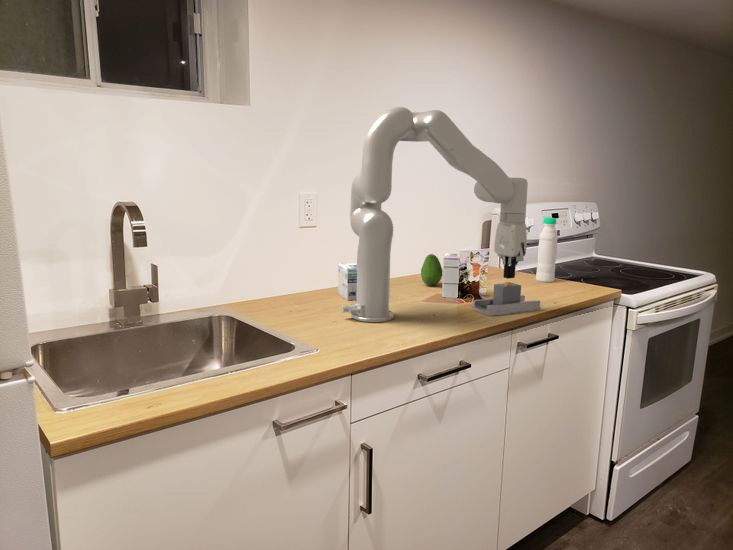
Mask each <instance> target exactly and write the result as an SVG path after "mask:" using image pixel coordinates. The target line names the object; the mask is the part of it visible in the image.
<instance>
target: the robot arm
mask: <svg viewBox="0 0 733 550" xmlns="http://www.w3.org/2000/svg"><path fill="white" fill-rule="evenodd" d="M399 142H420V143H421V142H429V143H430V144H431V145H432V147H433V148H434V149H435V150H436V151H437V152H438V153H439V154H440V155H441V156H442V158H443V159H444V161H446V162H447V164H448V165H450V167H452V168H454V169H455V170H456V171H459V172H462V173H464V174H466V175H467V176H469V177H471V178H472V179H474V180H475V181H476V182H475V184H474V187H473V191H474V192H473V193H474V195H475V196H476V198H477V199H478V200H480V201H481V202H485V203H492V204H493V203H495V204H500V213H499V221H498V224H497V226H496V227H497V228H496V231H495V238H494V244H493V245H494V248H493V251H494V252H495V254H497V257H498V258H500V259H501V260H502V265H503V276H502V277H503V278H504V279H507V280H508V279H514V278H515V277H516V266H517V265H518V263H519V262H524V257H525V256H526V253H527V243H528V237H527V236H528V235H527V224H526V218H527V215H526V214H527V201H528V200H527V199H528V180H527V179H526V178H524V177H509V176H508V175H507V174H506V172H505V171H504V170H503V168H501V166H499V165H498V163H496V162H495V161H494V160H493V159H492V158H491V157H489V156H488V155H487V154H486V153H484V152H483V151H482V150H480V149H479V148H477V147H476V146H475V145H474V144H473V143H472V142H471V141H470V140H469V139H468V138H467V137H466V135H465V134H464V133H463V132H462V131H461V130H460V128H458V126H457V125H456V124H455V123H454V122H453V121H452V119H451V117H449V116H448V115H447V113H445V112H444V111H442V110H439V109H434V110H433V109H432V110H427V111H424V112H423V111H421V112H420V111H419V112H416V111H415V112H412V111H411V110H410V109H408V108H406V107H404V106H396V107H392V108H389V109H386V110H384V111H382V112H380V113H379V114H378V115H377V116H376V118H375V121H374V123H373V124H372V126H371V127H370V128H369V130H368V131H367V134H366V136H365V139H364V143H363V148H362V157H361V171H359V172H358V173H357V174H356V175H355V176H354V178H353V179H352V183H351V188H350V215H349V217H350V227H351V230H352V232H353V233H354V234H355V235H356V236H357V237H358V245H357V255H356V257H357V258H356V264H357V300H352V304H350V305H341V306H340V312H341V313H349V314H350V316H351V318H352V319H354V320H355V321H359V322H363V323H381V322H388V321H391V320H393V319H394V318H395V313H394V312H393V311H392V310H390V287H391V284H390V281H391V279H390V277H391V250H392V243H393V237H394V224H393V220H392V218H391V217H390V215H389V214H388V213H387V212H386V211H384V210H382V203H385V202H386V201H387V200H389V198H390V196H391V193H392V179H393V161H394V152H395V149H396V147H397V145H398V143H399Z"/></svg>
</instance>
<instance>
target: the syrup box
mask: <svg viewBox="0 0 733 550" xmlns="http://www.w3.org/2000/svg"><path fill="white" fill-rule="evenodd" d="M460 255H461V254H459V253H444V255H443V256H442V279H441V280H442V283H441V284H442V285H441V287H442V288H441V297H442V298H444V297H446V299H458V298H457V297H458V283H459V263H460V264H461V262H460Z"/></svg>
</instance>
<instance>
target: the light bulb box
mask: <svg viewBox="0 0 733 550" xmlns="http://www.w3.org/2000/svg"><path fill="white" fill-rule="evenodd" d="M337 266H338V269H337V270H338V273H337V274H338V276H337V277H338V285H337V287H338V289H337V294H338V293H339V296H341V297H343V299H345V300H346V301H357V262H352V263H351V262H349V263H347V262H346V263H345V262H342V263H341V262H340V263H338V265H337Z"/></svg>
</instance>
